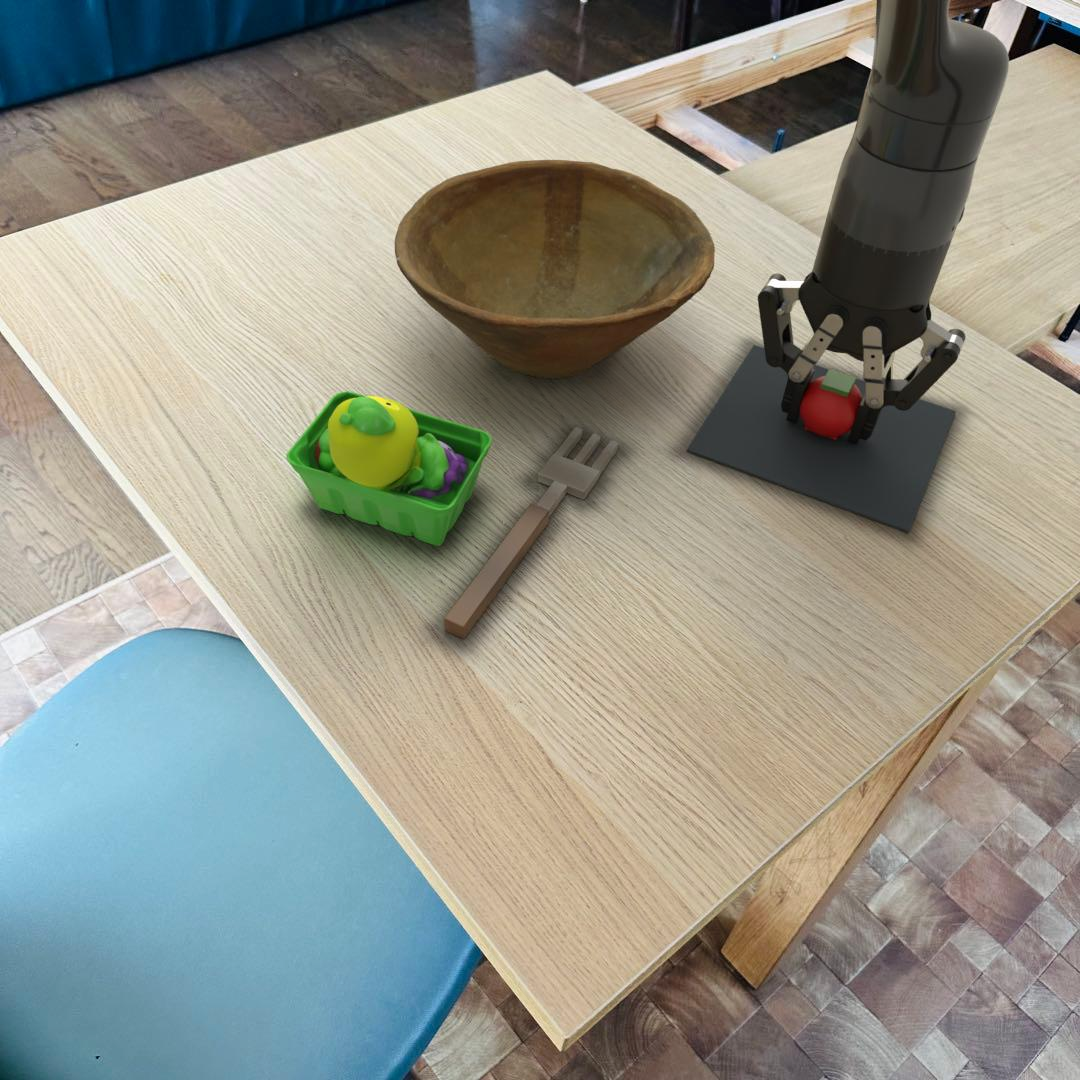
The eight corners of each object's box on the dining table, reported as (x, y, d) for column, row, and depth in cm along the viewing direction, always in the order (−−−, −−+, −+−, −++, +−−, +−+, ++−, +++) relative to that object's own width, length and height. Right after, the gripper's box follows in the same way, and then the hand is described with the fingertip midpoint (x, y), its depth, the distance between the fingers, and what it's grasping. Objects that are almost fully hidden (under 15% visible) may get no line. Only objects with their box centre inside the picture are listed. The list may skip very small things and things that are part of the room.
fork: (573, 434, 74) (574, 421, 73) (618, 451, 73) (620, 438, 72) (428, 623, 62) (427, 611, 61) (480, 647, 61) (479, 634, 60)
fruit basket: (497, 488, 70) (496, 355, 62) (442, 580, 64) (434, 448, 56) (347, 443, 72) (328, 310, 64) (282, 529, 67) (252, 394, 58)
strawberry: (861, 422, 76) (878, 373, 72) (844, 457, 73) (861, 408, 70) (803, 403, 77) (817, 354, 74) (785, 436, 74) (798, 387, 71)
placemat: (955, 413, 77) (956, 410, 77) (908, 533, 68) (909, 531, 68) (753, 346, 82) (753, 344, 81) (686, 451, 73) (686, 449, 73)
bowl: (696, 453, 73) (719, 338, 66) (379, 424, 74) (366, 308, 66) (695, 278, 88) (714, 169, 80) (430, 256, 89) (424, 146, 81)
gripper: (760, 208, 62) (714, 423, 74) (1000, 278, 58) (908, 493, 70) (799, 156, 66) (750, 367, 79) (1024, 217, 62) (934, 429, 75)
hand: (825, 425), depth 75 cm, fingers closed on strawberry, 4 cm apart
